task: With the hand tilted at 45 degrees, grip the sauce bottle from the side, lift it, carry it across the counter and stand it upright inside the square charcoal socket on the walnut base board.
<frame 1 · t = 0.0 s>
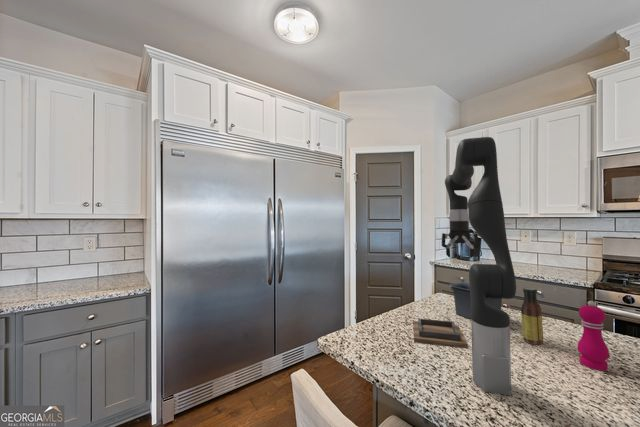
hand: (459, 257, 121), 29 cm above the countertop, tool pointing down, fingers open, 8 cm apart
sauce bottle: (532, 342, 103), on the countertop
socket board: (437, 335, 110), on the countertop
storage bin: (478, 318, 129), on the countertop
pepper mill: (593, 365, 87), on the countertop
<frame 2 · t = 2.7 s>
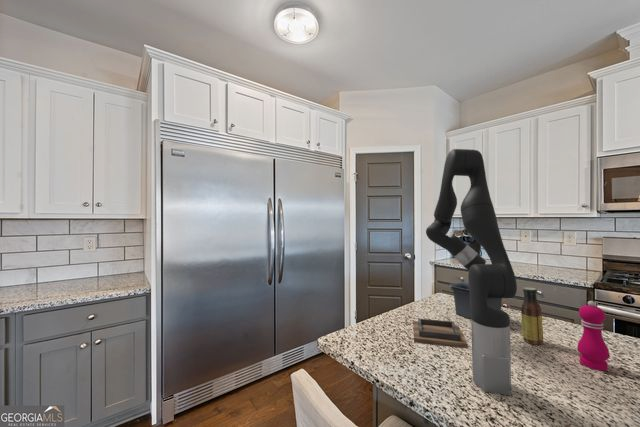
hand: (503, 290, 107), 18 cm above the countertop, tool tilted 45°, fingers open, 8 cm apart
nothing on the countertop moved.
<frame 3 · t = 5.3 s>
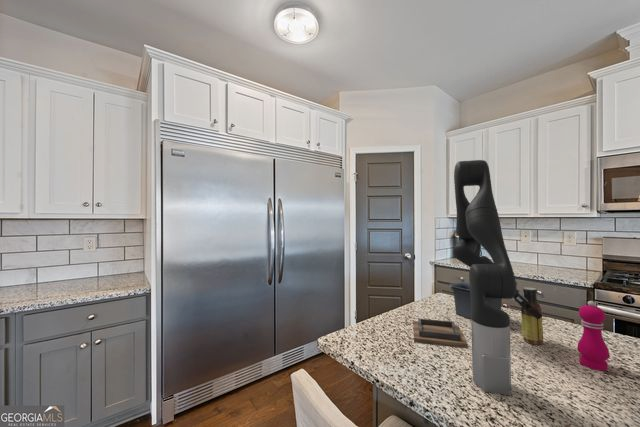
hand: (537, 314, 103), 10 cm above the countertop, tool tilted 45°, fingers closed on sauce bottle, 6 cm apart
sauce bottle: (532, 342, 103), on the countertop, touching gripper
everything else where it was.
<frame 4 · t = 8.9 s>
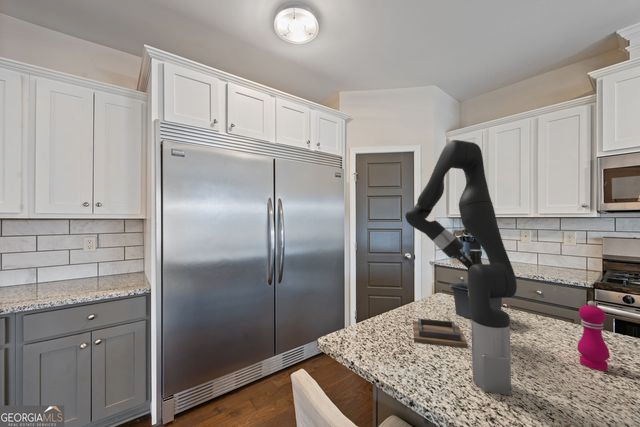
hand: (481, 274, 107), 24 cm above the countertop, tool tilted 45°, fingers closed on sauce bottle, 6 cm apart
sauce bottle: (477, 301, 108), point 14 cm above the countertop, touching gripper
everything else where it was.
when the fingers open (13 cm above the countertop, at t = 12.6 s): sauce bottle stays where it is, resting on socket board.
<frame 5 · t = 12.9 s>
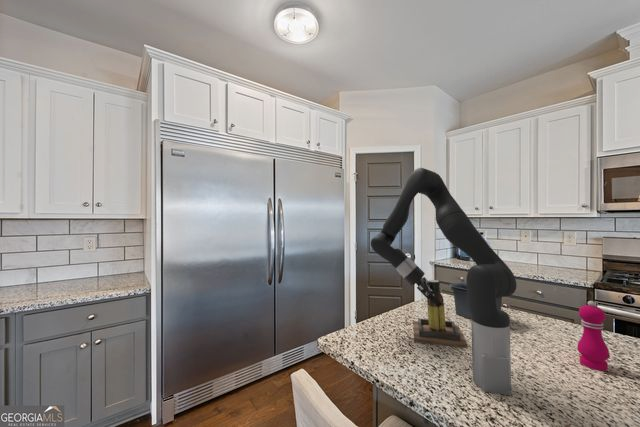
hand: (440, 302, 110), 13 cm above the countertop, tool tilted 45°, fingers open, 8 cm apart
sauce bottle: (436, 331, 111), point 1 cm above the countertop, touching socket board
everything else where it was.
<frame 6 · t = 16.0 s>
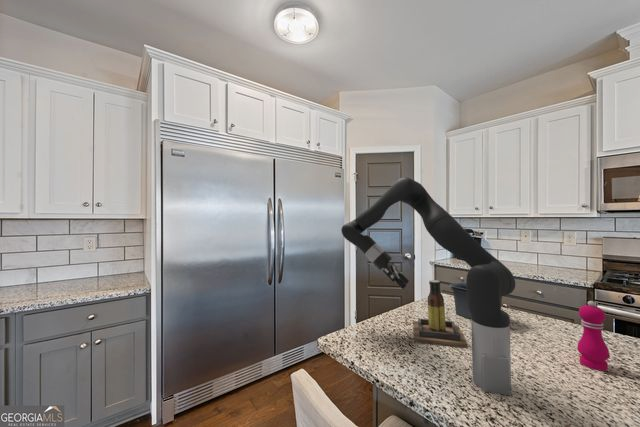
hand: (406, 285, 116), 19 cm above the countertop, tool tilted 45°, fingers open, 8 cm apart
nothing on the countertop moved.
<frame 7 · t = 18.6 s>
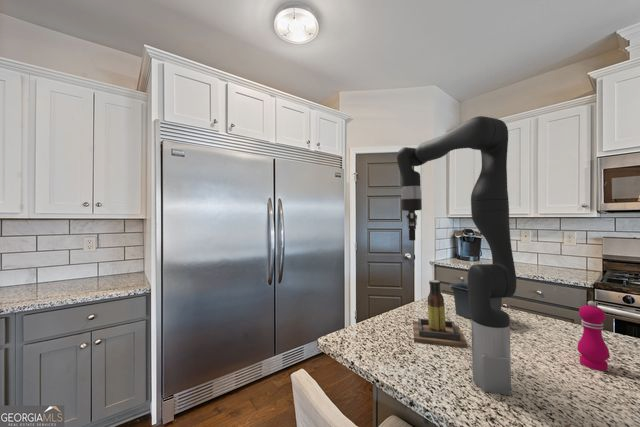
hand: (412, 239, 109), 38 cm above the countertop, tool pointing down, fingers open, 8 cm apart
nothing on the countertop moved.
at the end: sauce bottle inside the target area on the socket board (0.3 cm from its centre), point 1.3 cm above the socket board's base; sauce bottle tilted 0°; the gripper is holding nothing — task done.
